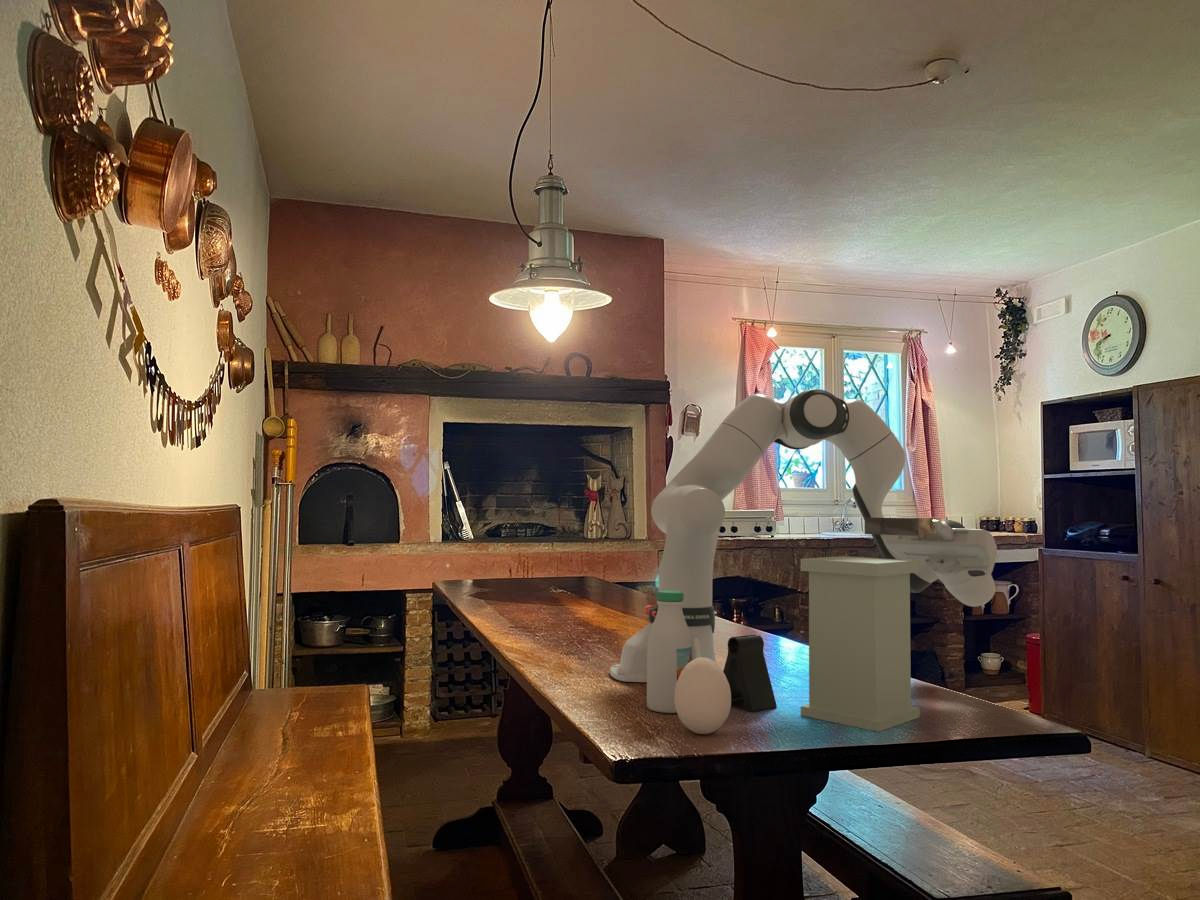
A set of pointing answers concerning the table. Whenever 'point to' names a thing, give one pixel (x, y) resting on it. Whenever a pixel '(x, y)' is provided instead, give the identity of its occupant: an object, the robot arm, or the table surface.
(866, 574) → the pedestal stand
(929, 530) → the tan block
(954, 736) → the table surface
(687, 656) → the milk bottle
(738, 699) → the phone stand
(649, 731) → the table surface
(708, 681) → the egg
